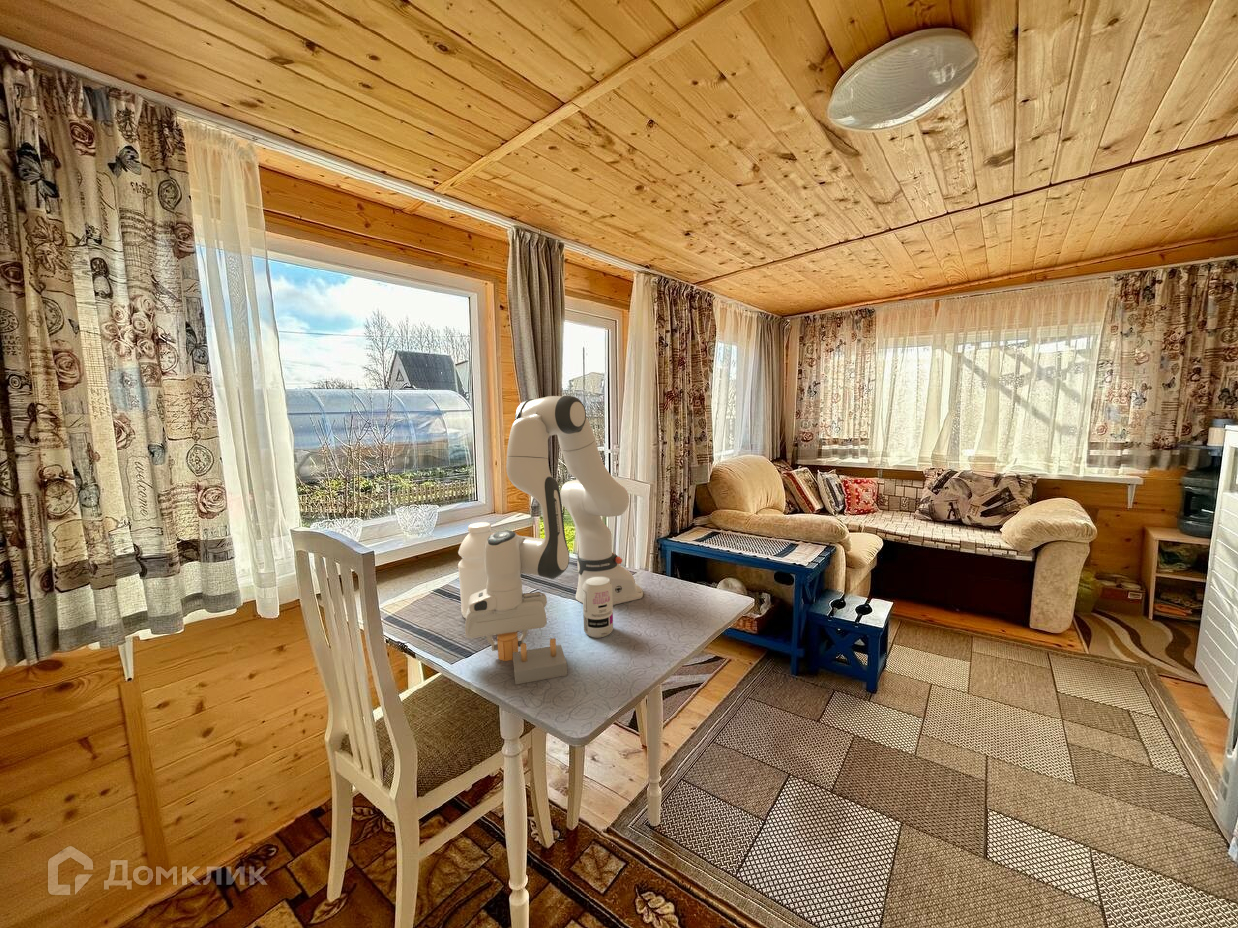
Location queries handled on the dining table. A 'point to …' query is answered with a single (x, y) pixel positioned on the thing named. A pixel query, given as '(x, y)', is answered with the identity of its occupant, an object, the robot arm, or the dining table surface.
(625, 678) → the dining table surface
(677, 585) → the dining table surface
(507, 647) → the wire nut cap
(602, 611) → the supplement can
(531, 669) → the pegged grey base
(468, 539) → the bottle
